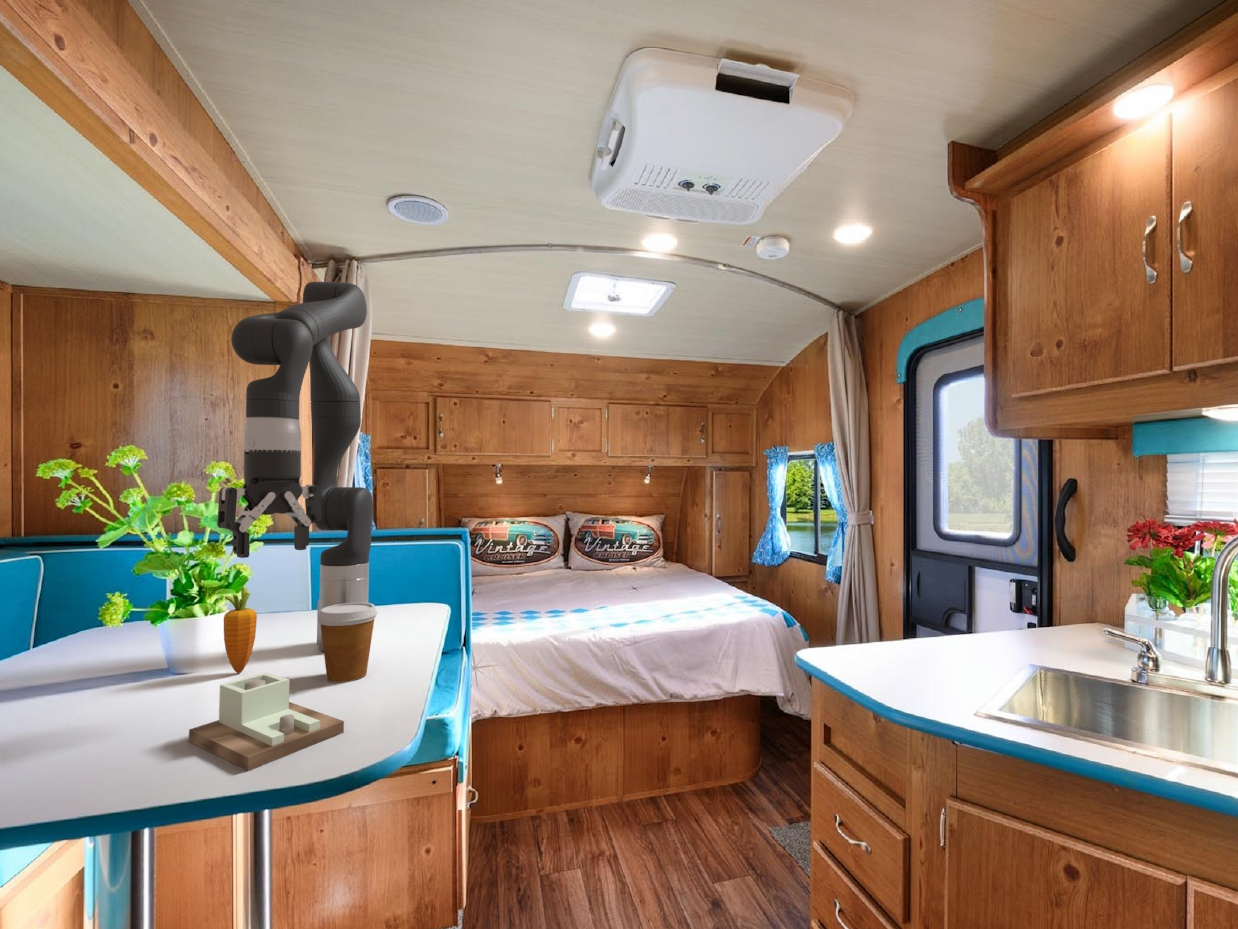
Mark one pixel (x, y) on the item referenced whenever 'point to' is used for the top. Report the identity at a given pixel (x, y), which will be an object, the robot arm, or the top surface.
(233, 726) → the hollow square block
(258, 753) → the post base
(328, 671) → the disposable coffee cup
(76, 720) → the top surface
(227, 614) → the carrot
